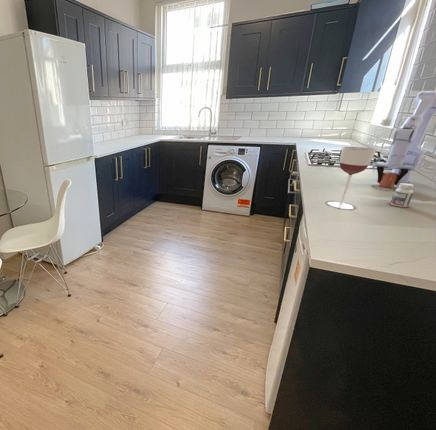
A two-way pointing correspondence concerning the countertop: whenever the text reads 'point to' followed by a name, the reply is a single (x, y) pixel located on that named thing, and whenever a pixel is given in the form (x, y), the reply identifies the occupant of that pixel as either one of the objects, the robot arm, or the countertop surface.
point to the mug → (388, 179)
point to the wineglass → (353, 167)
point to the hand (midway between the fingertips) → (386, 183)
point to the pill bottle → (403, 195)
